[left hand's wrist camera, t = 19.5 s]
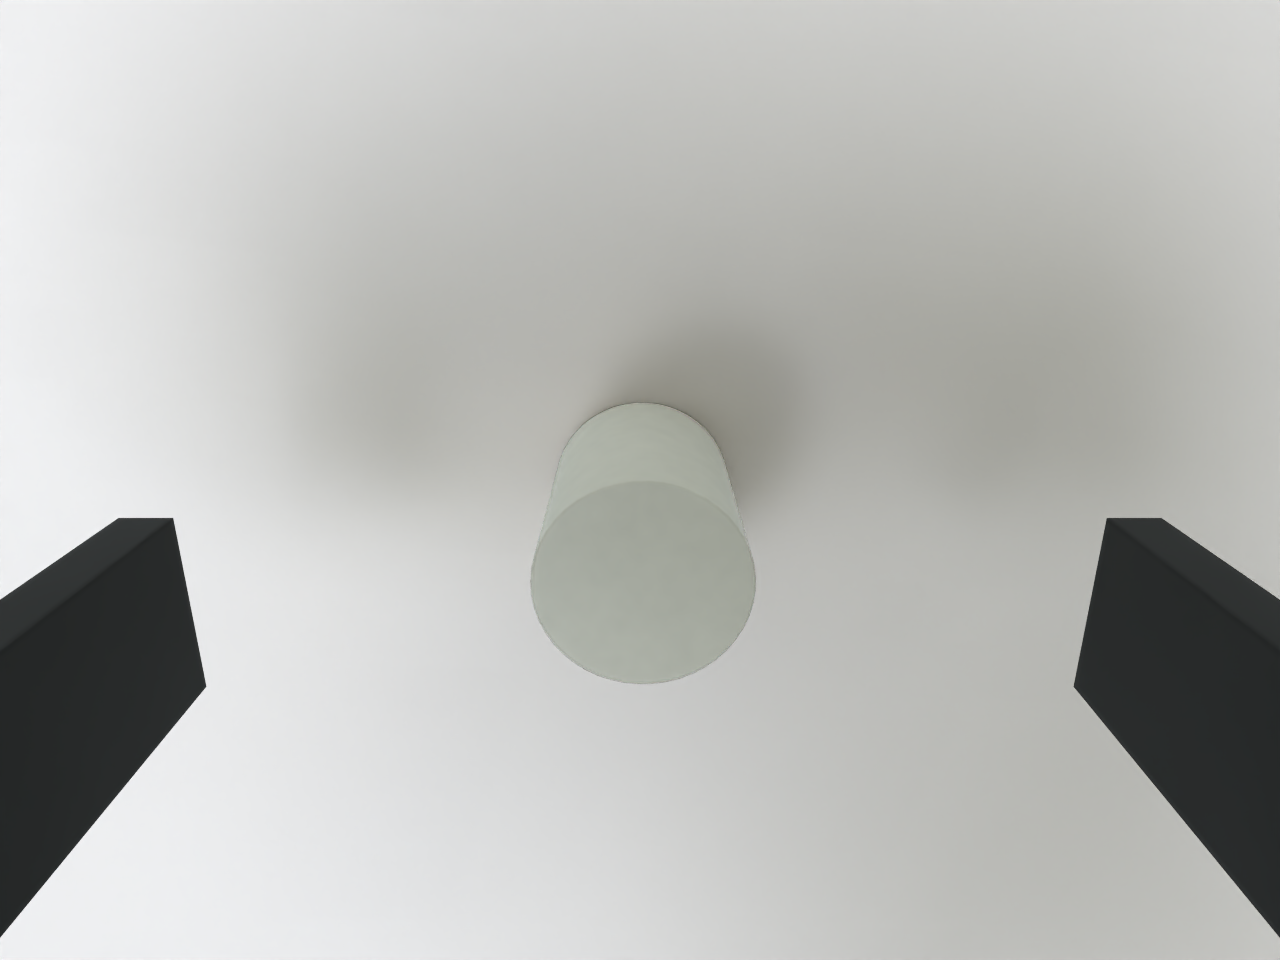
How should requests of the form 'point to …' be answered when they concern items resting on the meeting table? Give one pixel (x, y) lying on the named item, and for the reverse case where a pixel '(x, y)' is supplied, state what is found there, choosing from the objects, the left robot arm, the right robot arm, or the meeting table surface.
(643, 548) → the canister
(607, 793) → the meeting table surface
